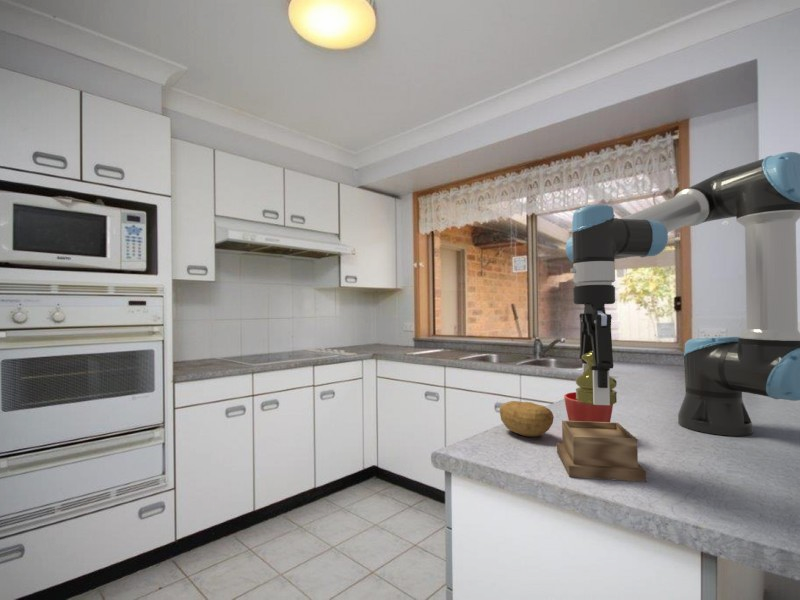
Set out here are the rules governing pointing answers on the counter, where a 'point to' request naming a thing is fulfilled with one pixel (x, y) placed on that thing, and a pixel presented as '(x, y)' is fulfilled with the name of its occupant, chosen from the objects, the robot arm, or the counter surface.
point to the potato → (526, 418)
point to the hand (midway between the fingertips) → (595, 399)
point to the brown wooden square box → (599, 451)
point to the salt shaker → (591, 383)
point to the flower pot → (586, 410)
